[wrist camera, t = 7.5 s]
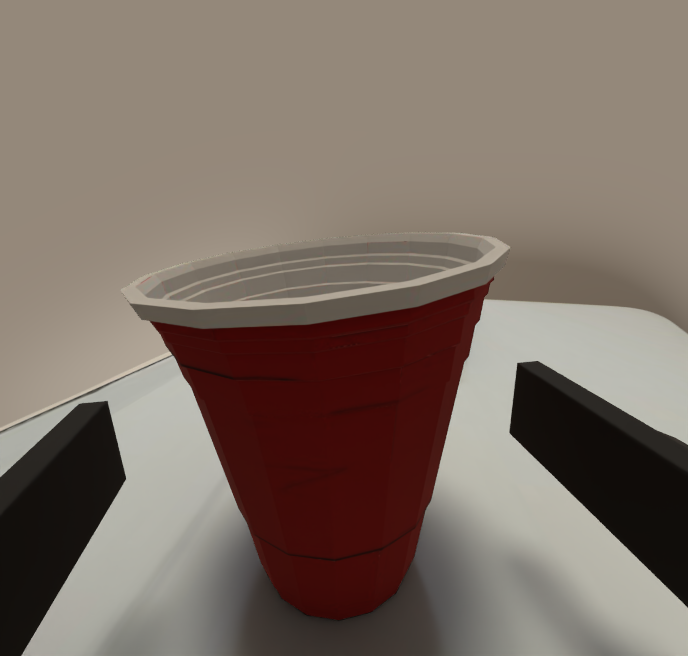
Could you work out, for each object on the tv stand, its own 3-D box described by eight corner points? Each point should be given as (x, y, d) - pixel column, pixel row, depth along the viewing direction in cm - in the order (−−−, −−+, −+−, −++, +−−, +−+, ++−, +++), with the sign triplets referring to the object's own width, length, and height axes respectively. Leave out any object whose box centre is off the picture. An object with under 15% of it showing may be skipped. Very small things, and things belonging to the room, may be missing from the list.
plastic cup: (183, 502, 18) (132, 242, 14) (384, 442, 22) (384, 228, 18) (197, 835, 8) (52, 297, 5) (549, 618, 12) (617, 241, 9)
